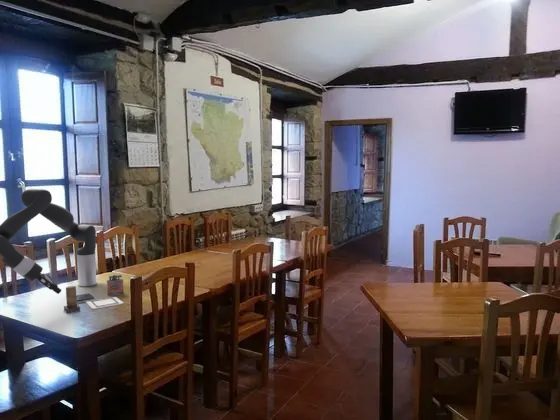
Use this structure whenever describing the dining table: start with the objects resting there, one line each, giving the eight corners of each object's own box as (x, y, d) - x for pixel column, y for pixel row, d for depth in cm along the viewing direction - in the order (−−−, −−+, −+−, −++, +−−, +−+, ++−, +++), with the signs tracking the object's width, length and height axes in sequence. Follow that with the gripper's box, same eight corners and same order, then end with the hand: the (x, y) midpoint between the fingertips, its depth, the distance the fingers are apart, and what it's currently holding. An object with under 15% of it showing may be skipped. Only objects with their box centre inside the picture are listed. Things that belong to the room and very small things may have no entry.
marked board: (86, 303, 219) (86, 301, 219) (115, 297, 227) (115, 296, 227) (92, 309, 209) (92, 307, 209) (123, 303, 217) (123, 302, 217)
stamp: (64, 310, 208) (62, 286, 207) (77, 308, 212) (76, 284, 210) (66, 313, 204) (65, 289, 203) (80, 311, 207) (78, 287, 206)
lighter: (107, 295, 231) (106, 276, 230) (107, 293, 234) (106, 274, 233) (123, 294, 233) (122, 275, 232) (124, 292, 237) (123, 273, 235)
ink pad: (68, 298, 226) (68, 296, 225) (91, 295, 232) (91, 292, 232) (73, 304, 217) (73, 301, 217) (97, 300, 223) (97, 297, 223)
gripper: (36, 264, 191) (67, 286, 199) (31, 258, 203) (61, 279, 211) (23, 278, 189) (55, 300, 197) (18, 272, 200) (49, 293, 208)
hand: (58, 289), depth 204 cm, fingers open, 8 cm apart
